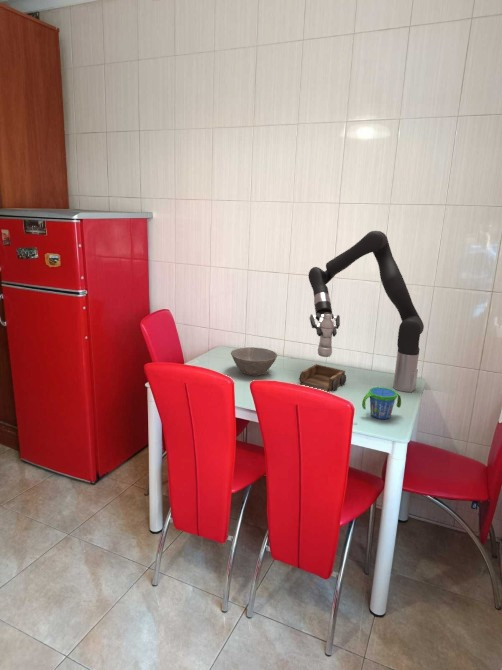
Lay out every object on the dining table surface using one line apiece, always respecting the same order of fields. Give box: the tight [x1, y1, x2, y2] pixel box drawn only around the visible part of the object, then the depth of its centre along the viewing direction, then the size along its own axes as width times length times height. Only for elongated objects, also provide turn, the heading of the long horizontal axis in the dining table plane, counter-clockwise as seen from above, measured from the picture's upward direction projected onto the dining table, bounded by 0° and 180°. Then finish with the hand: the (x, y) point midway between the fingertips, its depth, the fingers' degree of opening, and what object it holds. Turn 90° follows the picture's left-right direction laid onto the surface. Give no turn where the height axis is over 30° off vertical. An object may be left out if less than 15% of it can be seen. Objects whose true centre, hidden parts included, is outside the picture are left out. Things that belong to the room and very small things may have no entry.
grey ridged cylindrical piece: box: [317, 313, 335, 358], centre depth 209 cm, size 6×7×20 cm
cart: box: [298, 363, 347, 393], centre depth 213 cm, size 20×17×6 cm
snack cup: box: [361, 386, 402, 420], centre depth 181 cm, size 16×10×10 cm
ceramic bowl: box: [230, 346, 278, 377], centre depth 225 cm, size 22×23×10 cm
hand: (327, 335), depth 208 cm, fingers closed on grey ridged cylindrical piece, 6 cm apart
